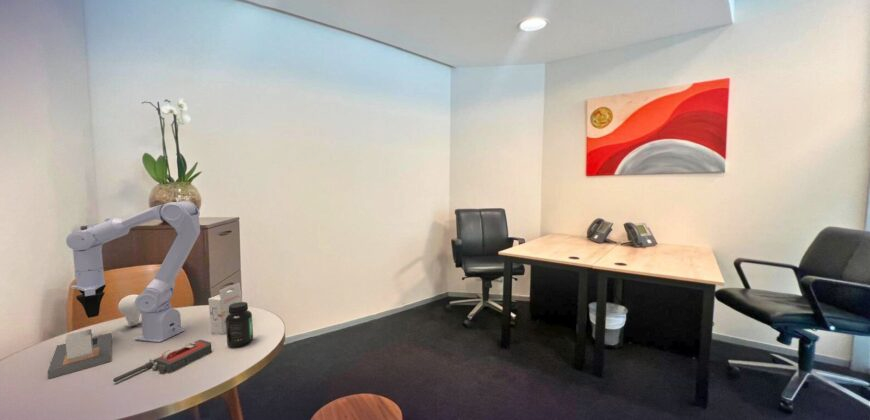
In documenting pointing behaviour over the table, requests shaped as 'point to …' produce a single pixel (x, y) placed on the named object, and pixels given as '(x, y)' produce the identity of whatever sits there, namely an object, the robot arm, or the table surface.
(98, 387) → the table surface
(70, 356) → the square peg
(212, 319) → the ink cartridge box
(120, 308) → the light bulb
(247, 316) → the supplement bottle
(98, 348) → the hole plate
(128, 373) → the walkie-talkie
